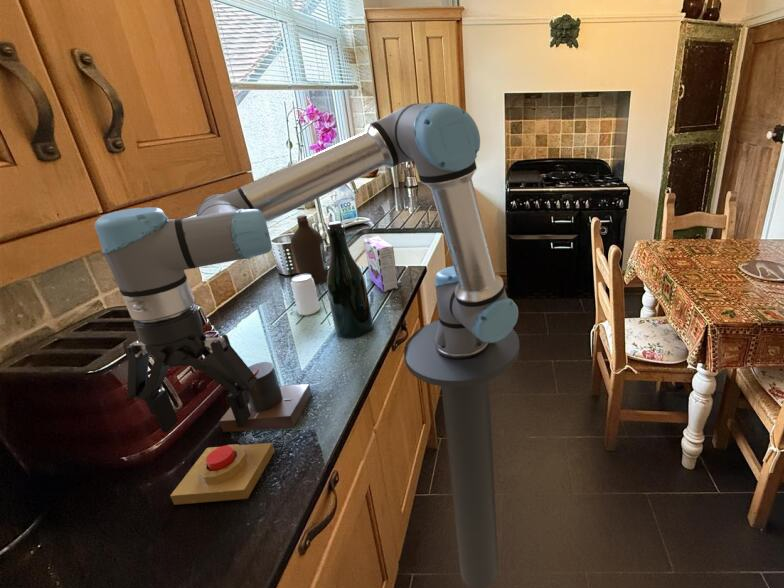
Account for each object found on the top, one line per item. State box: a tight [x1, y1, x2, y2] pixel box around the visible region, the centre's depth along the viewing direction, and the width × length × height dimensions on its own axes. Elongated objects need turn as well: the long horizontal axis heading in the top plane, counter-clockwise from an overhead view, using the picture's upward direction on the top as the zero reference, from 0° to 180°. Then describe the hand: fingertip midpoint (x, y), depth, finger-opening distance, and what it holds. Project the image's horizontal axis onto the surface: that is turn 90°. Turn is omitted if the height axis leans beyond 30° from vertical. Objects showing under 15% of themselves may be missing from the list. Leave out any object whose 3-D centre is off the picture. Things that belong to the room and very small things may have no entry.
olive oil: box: [290, 214, 329, 285], centre depth 148 cm, size 11×11×25 cm
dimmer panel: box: [218, 383, 313, 433], centre depth 87 cm, size 14×10×3 cm
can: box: [290, 273, 321, 317], centre depth 128 cm, size 6×6×12 cm
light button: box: [206, 444, 236, 471], centre depth 71 cm, size 4×4×2 cm
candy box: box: [363, 235, 399, 293], centre depth 145 cm, size 14×6×16 cm, turn 37°
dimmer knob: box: [248, 361, 282, 411], centre depth 85 cm, size 6×6×8 cm
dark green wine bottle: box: [326, 220, 374, 339], centre depth 113 cm, size 10×10×33 cm
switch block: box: [169, 442, 275, 506], centre depth 72 cm, size 12×10×4 cm
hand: (208, 423), depth 68 cm, fingers open, 11 cm apart
